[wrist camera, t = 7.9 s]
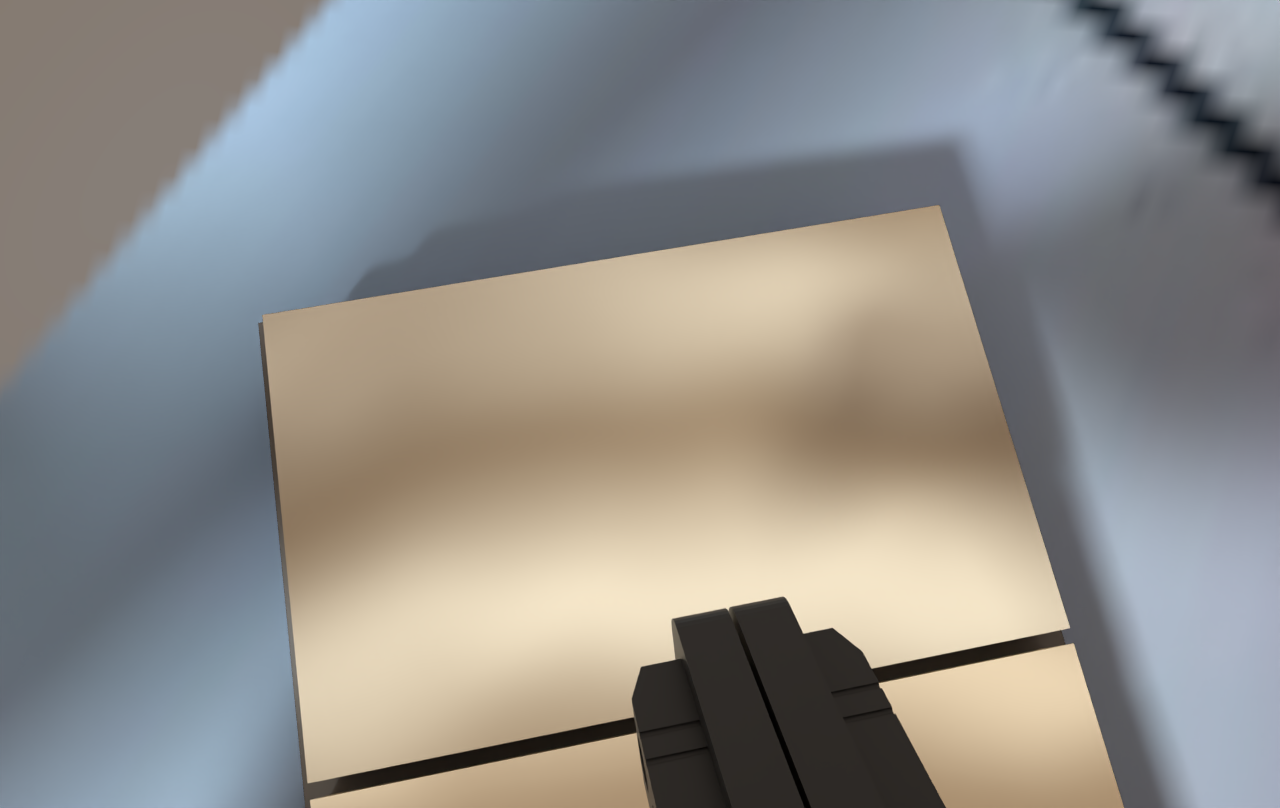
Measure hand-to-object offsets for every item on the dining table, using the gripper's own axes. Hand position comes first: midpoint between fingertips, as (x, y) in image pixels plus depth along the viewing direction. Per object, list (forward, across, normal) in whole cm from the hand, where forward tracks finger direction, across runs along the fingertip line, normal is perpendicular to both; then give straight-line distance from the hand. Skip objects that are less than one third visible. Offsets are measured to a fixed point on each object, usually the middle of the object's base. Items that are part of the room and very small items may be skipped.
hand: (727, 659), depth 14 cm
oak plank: (+9, 0, +3) cm, 9 cm away
